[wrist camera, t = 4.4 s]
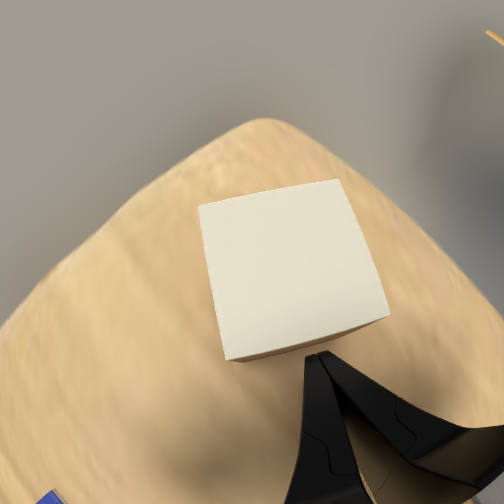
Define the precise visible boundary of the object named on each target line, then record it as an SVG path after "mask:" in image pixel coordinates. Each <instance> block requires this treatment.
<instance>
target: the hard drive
mask: <svg viewBox="0 0 504 504" xmlns="http://www.w3.org/2000/svg"><path fill="white" fill-rule="evenodd" d="M36 504H68V503H67V502H66V500H65V499H64V498H63V497H62V496H61V495H60V494H59V492H58V491H57V490H56V489H54V490H52V491H50V492H48V493H47V494H46V495H45V496H44V497H43V498H42V499H41V500H39V501H38V502H37V503H36Z"/></svg>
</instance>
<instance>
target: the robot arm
mask: <svg viewBox="0 0 504 504" xmlns="http://www.w3.org/2000/svg"><path fill="white" fill-rule="evenodd" d="M357 464H358V466H359V468H360V470H361V472H362V474H363V476H364V478H365V480H366V482H367V484H368V486H369V488H370V490H371V492H372V494H373V496H375V497H374V498H375V500H376V502H377V504H504V425H499V426H491V427H481V428H466V427H461V426H458V425H455V424H453V423H451V422H448V421H446V420H443V419H441V418H439V417H436V416H434V415H432V414H430V413H428V412H425V411H423V410H421V409H419V408H417V407H416V406H414V405H412V404H410V403H409V402H407V401H405V400H404V399H402V398H400V397H398V396H397V395H395V394H394V393H392V392H391V391H389V390H388V389H386V388H384V387H383V386H381V385H380V384H378V383H377V382H375V381H374V380H372V379H370V378H369V377H367V376H366V375H364V374H363V373H361V372H360V371H358V370H357V369H355V368H354V367H352V366H351V365H349V364H348V363H346V362H345V361H343V360H342V359H340V358H339V357H337V356H336V355H334V354H333V353H331V352H330V351H327V350H326V351H323V352H319V353H317V355H316V354H312V355H309V356H306V357H305V366H304V388H303V405H302V420H301V433H300V443H299V451H298V457H297V461H296V465H295V469H294V473H293V476H292V479H291V483H290V486H289V489H288V492H287V495H286V499H285V501H284V504H374V503H373V501H372V500H371V498H370V496H369V495H368V493H367V491H366V490H365V488H364V485H363V483H362V480H361V476H360V473H359V469H358V466H357Z"/></svg>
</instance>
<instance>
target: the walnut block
mask: <svg viewBox="0 0 504 504" xmlns="http://www.w3.org/2000/svg"><path fill="white" fill-rule="evenodd" d="M198 212H199V218H200V225H201V231H202V237H203V244H204V250H205V256H206V261H207V267H208V273H209V278H210V284H211V289H212V295H213V300H214V305H215V311H216V316H217V321H218V326H219V331H220V336H221V340H222V345H223V350H224V354H225V359H226V360H228V361H235V362H247V361H252V360H256V359H261V358H265V357H269V356H274V355H278V354H282V353H286V352H290V351H294V350H297V349H301V348H305V347H309V346H312V345H316V344H319V343H323V342H326V341H329V340H333V339H336V338H339V337H341V336H344V335H346V334H349V333H351V332H353V331H356V330H358V329H360V328H363V327H365V326H367V325H370V324H372V323H374V322H376V321H378V320H381V319H383V318H385V317H387V316H389V315H391V312H390V309H389V306H388V303H387V300H386V296H385V293H384V290H383V287H382V284H381V282H380V279H379V276H378V273H377V270H376V267H375V265H374V262H373V259H372V257H371V254H370V251H369V249H368V246H367V244H366V241H365V238H364V236H363V233H362V231H361V229H360V226H359V224H358V221H357V219H356V217H355V214H354V212H353V210H352V207H351V205H350V203H349V200H348V198H347V196H346V194H345V192H344V189H343V187H342V185H341V183H340V181H339V179H332V180H326V181H320V182H314V183H308V184H302V185H296V186H291V187H285V188H280V189H275V190H269V191H264V192H259V193H254V194H249V195H244V196H239V197H235V198H230V199H225V200H221V201H216V202H212V203H207V204H203V205H199V206H198Z"/></svg>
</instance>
